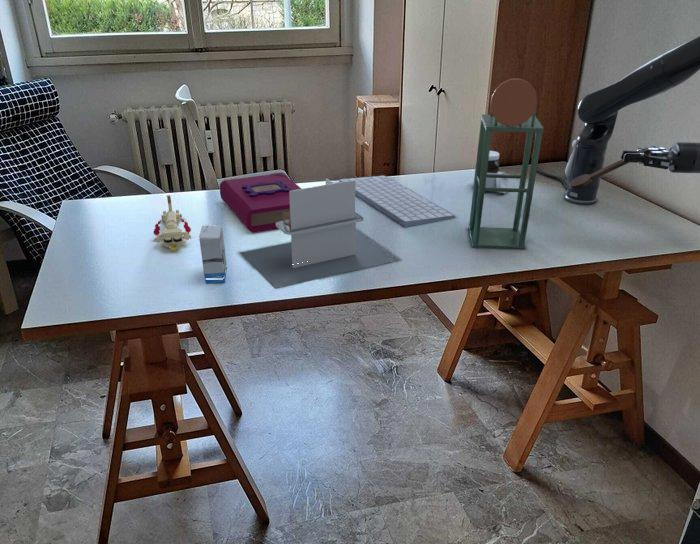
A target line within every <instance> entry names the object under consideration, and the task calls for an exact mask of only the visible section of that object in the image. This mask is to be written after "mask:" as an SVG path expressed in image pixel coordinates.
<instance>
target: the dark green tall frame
mask: <svg viewBox="0 0 700 544" xmlns="http://www.w3.org/2000/svg"><path fill="white" fill-rule="evenodd" d="M537 104H538V95H537V91H536V90H535V88H534V87H533V85H532V84H531V83H530V82H529V81H527V80H525V79H523V78H516V77H515V78H509V79H507V80H504V81H503V82H502V83H500V84H499V85H498V86H497V87H496V88H495V90H494V91H493V93H492V95H491V99H490V106H489V107H490V114H481V115H480V126H479V135H478V142H477V143H478V144H477V151H476V161H475V166H476V170H474V176H475V178H474V177H473V186H472V187H473V189H472V196H471V197H472V198H471V206H470V208H471V209H470V216H469V224H468V233H469V237H470V243H471V247H472V248H482V249H506V250H507V249H509V250H511V249H512V250H525V249H526V247H525V245H526V239H527V238H526V237H527V232H528V226H529V220H530V213H531V207H532V201H533V195H534V189H535V182H536V176H537V172H538V171H537V168H538V164H539V163H538V162H539V158H540V152H541V146H542V139H543V133H544V130H545V128H544V126H543V125H542V124H541V122H540V120H539V119H538V118H537V115H536V114H537V110H538V109H537V108H538V105H537ZM493 132H505V133H508V132H509V133H526V137H525V138H526V139H525V144H524V150H523V158H522V162H521V163H522V164H521V169H520V170H521V171H520V174H507V175H503V174H487V168H488V160H489V152H490V151H491V143H492V134H493ZM534 133H535V135H534ZM533 137H534V141H533ZM533 142H534V143H533ZM532 144H533V150H532ZM531 150H532V158H531V157H530V154H531ZM530 158H531V161H530ZM529 163H530V168H529ZM528 170H529V173H528ZM527 177H528V181H527ZM486 178H508V179H518V180H519V185H518V188H514V187H508V188H497V187H496V188H489V187H485V185H486ZM526 183H527V187H526ZM485 191H490V192H493V193H494V192H497V193H499V192H506V193H517V198H516V204H515V211H514V216H513V217H514V218H513V224H512V227H491V226H490V227H489V226H481V225H482V224H481V223H482V217H483V209H484V208H483V207H484V201H485V200H484V199H485V193H486V192H485ZM524 195H525V201H524ZM523 203H524V206H523ZM522 207H523V208H522ZM522 209H523V213H522ZM521 215H522V220H521ZM520 222H521V225H520ZM519 228H520V230H519Z"/></svg>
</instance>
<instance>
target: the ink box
mask: <svg viewBox="0 0 700 544" xmlns="http://www.w3.org/2000/svg"><path fill="white" fill-rule="evenodd" d="M223 232H224V231H223V225H222V224H220V225H219V224H218V225H217V224H216V225H213V224H212V225H211V224H209V225H206V224H205V225H202V226H201V228H200V232H199V235H198V238H199V239H198V241H199V246H200V254H201V261H202V267H203V276H204V282H205V284H216V283H217V284H219V283H225V282H226V276H227V271H228V263H227V255H226V248H225V241H224V233H223ZM226 265H227V267H226ZM225 270H226V273H225ZM224 276H225V279H223V280H205V278H223V277H224Z"/></svg>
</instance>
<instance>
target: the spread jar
mask: <svg viewBox="0 0 700 544" xmlns="http://www.w3.org/2000/svg"><path fill="white" fill-rule="evenodd" d="M499 159H500V152H498V151H494V150H490V152H489V160H488V168H487V174H503V175H508V174H507V173H506V171H500V160H499ZM474 169H475V170H476V165H475V167H474ZM475 170H474V171H475ZM474 178H475V175H474V176H473V179H474ZM509 185H510V183H509V178H486V185H485V187H489V188H509ZM489 192H491V191H485V193H489ZM498 193H499V194H506V193H507V192H498Z"/></svg>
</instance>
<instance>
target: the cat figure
mask: <svg viewBox="0 0 700 544" xmlns="http://www.w3.org/2000/svg"><path fill="white" fill-rule="evenodd" d="M166 199H167V206H168V210H167V211H166V210H162V214H161V215H160V216H161V217H160V218H161V219H159V221H157V223H156V224H154V229H153V235H154V236H156V237H154V242H157V243H161V242H162V243H161V247H164V248H169V249H170V250H171V251H176V250H178V248H179V247H182V246H183V245H186V243H187V242H186V241H188V240H189V239H190V240H191V239H192V236H191V234H190V233H191V232H192V227H190V225H189V223H188V222H187V220H186V221H185V219H182V217H183V214H182V213H180V210H179V209H175V211H174V210H173V205H172V198H171V195H169V194H168V195H166ZM178 221H181V223H184V224H183V229H184V231H183V229H181V228H180V227H178ZM161 222H164V223H165V224H166V225H165V226H166V227H165V229H162V231H161V227H160V226H159V225H160V224H162V223H161ZM160 231H161V233H160Z"/></svg>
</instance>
